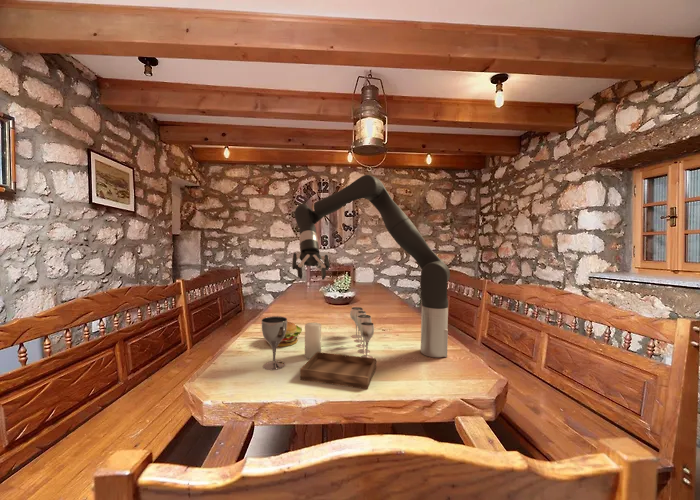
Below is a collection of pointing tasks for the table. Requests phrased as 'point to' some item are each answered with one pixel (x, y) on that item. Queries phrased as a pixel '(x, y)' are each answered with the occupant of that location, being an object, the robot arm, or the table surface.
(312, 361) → the serving tray
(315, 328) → the dome-topped cylinder
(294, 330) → the food
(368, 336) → the goblet set
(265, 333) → the wine glass
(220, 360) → the table surface
